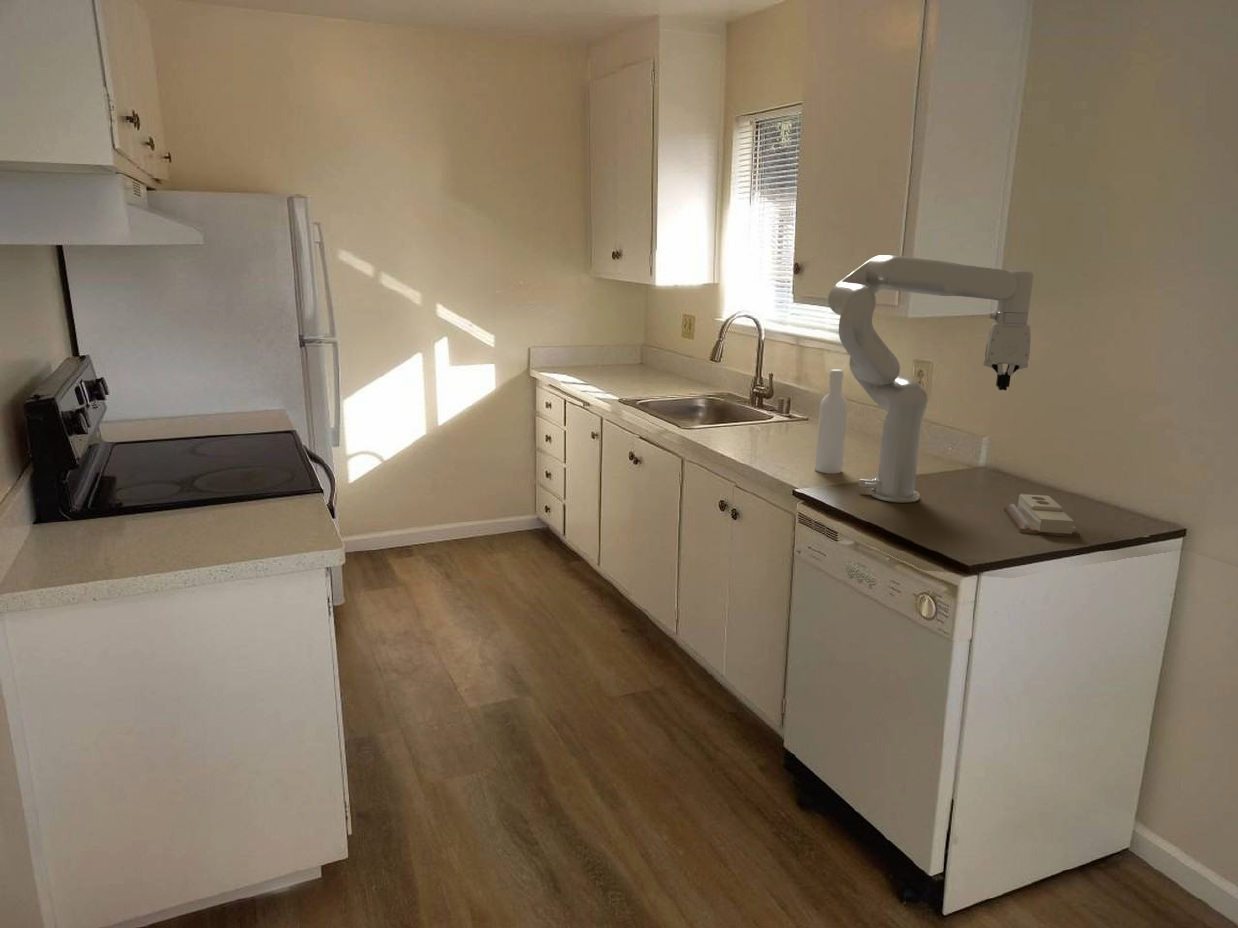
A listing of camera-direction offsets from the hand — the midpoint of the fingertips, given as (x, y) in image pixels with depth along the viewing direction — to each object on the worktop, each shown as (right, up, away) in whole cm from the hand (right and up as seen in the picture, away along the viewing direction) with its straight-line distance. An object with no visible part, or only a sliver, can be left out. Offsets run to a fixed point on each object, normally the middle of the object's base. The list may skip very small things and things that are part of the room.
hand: (1002, 389), depth 227 cm
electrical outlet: (+2, -34, -18) cm, 38 cm away
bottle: (-39, -22, +29) cm, 53 cm away
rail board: (+2, -34, -16) cm, 38 cm away
